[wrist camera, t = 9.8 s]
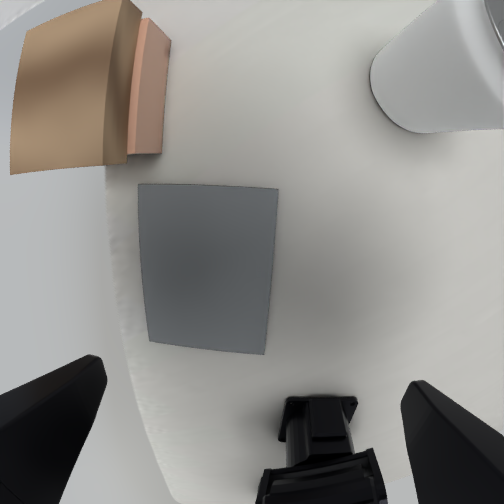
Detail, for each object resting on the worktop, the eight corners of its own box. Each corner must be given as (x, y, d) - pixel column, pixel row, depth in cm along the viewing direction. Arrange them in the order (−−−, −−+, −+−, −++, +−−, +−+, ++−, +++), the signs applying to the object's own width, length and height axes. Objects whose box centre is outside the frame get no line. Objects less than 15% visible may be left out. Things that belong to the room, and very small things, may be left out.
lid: (126, 163, 14) (102, 165, 12) (36, 170, 14) (10, 175, 12) (142, 12, 11) (123, -6, 9) (50, 39, 11) (26, 31, 9)
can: (349, 60, 15) (438, -38, 4) (420, 36, 14) (524, -30, 2) (397, 148, 16) (538, 154, 5) (462, 116, 15) (592, 110, 4)
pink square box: (161, 153, 18) (134, 153, 14) (66, 159, 18) (31, 162, 14) (171, 40, 15) (149, 17, 11) (75, 59, 15) (43, 48, 12)
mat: (264, 351, 22) (264, 354, 21) (151, 338, 22) (149, 341, 22) (278, 189, 18) (278, 189, 17) (140, 183, 18) (138, 184, 18)
